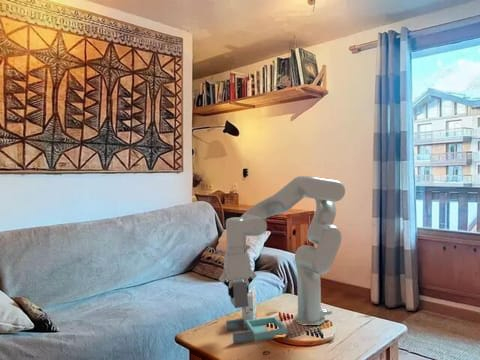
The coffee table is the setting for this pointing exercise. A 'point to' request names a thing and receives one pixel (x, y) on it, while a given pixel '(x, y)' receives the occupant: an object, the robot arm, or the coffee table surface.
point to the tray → (259, 328)
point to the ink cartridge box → (250, 306)
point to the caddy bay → (239, 336)
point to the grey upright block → (239, 294)
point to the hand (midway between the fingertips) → (238, 295)
